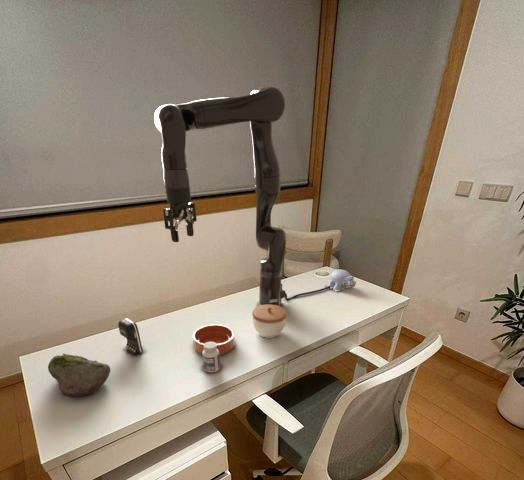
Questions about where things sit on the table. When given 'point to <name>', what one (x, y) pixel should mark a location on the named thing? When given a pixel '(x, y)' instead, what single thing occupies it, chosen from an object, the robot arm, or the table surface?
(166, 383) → the table surface
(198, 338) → the terracotta bowl
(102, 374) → the stone
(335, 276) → the hippopotamus toy
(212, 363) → the pill bottle
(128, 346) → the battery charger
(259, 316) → the lidded bowl
